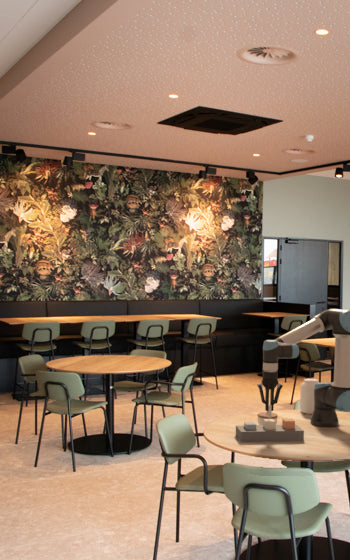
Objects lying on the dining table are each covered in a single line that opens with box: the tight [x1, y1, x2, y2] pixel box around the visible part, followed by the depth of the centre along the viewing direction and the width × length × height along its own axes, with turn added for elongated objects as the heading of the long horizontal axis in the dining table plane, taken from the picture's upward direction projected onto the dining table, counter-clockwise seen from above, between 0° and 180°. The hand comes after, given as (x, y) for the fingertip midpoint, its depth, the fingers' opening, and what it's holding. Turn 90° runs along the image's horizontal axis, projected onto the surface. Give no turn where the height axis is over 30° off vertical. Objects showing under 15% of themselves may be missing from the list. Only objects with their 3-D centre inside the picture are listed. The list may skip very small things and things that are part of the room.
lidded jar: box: [257, 411, 279, 425], centre depth 314 cm, size 11×11×9 cm
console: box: [235, 424, 305, 443], centre depth 296 cm, size 32×12×5 cm, turn 97°
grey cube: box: [243, 421, 257, 430], centre depth 295 cm, size 5×5×5 cm
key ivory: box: [263, 419, 277, 430], centre depth 296 cm, size 5×5×5 cm
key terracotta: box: [281, 418, 296, 429], centre depth 297 cm, size 5×5×5 cm
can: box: [299, 377, 319, 415], centre depth 354 cm, size 12×12×20 cm
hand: (269, 417), depth 296 cm, fingers closed
